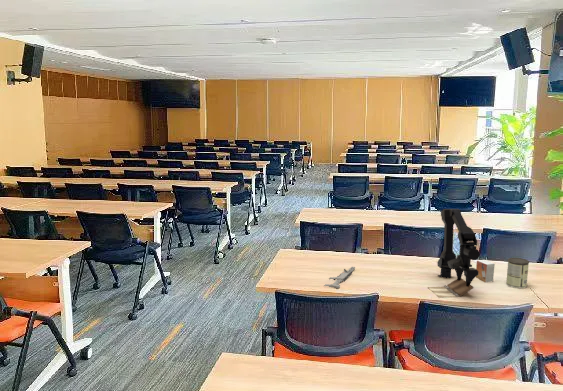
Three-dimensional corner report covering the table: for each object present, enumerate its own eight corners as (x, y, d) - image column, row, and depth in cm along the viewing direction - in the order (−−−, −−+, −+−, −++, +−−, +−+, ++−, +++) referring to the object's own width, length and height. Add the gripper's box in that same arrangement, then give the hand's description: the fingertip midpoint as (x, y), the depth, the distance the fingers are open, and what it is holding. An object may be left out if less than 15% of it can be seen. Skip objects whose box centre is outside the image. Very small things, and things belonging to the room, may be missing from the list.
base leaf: (427, 289, 259) (427, 286, 259) (447, 288, 261) (447, 285, 260) (438, 299, 246) (439, 295, 245) (459, 298, 247) (459, 295, 247)
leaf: (444, 289, 261) (443, 286, 260) (460, 279, 261) (459, 276, 260) (457, 299, 247) (455, 296, 246) (474, 288, 247) (472, 285, 247)
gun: (342, 263, 295) (358, 264, 291) (342, 268, 296) (358, 269, 291) (320, 282, 263) (338, 283, 259) (321, 288, 264) (338, 290, 259)
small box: (475, 278, 277) (476, 260, 276) (482, 277, 279) (484, 259, 277) (485, 282, 270) (486, 264, 268) (493, 281, 272) (494, 263, 270)
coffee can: (507, 280, 273) (509, 256, 271) (527, 284, 268) (529, 259, 266) (504, 286, 265) (506, 261, 262) (525, 289, 259) (528, 264, 257)
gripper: (442, 249, 259) (440, 277, 262) (458, 260, 241) (456, 290, 243) (462, 249, 260) (460, 277, 263) (480, 259, 242) (477, 289, 245)
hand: (463, 283), depth 254 cm, fingers open, 9 cm apart
